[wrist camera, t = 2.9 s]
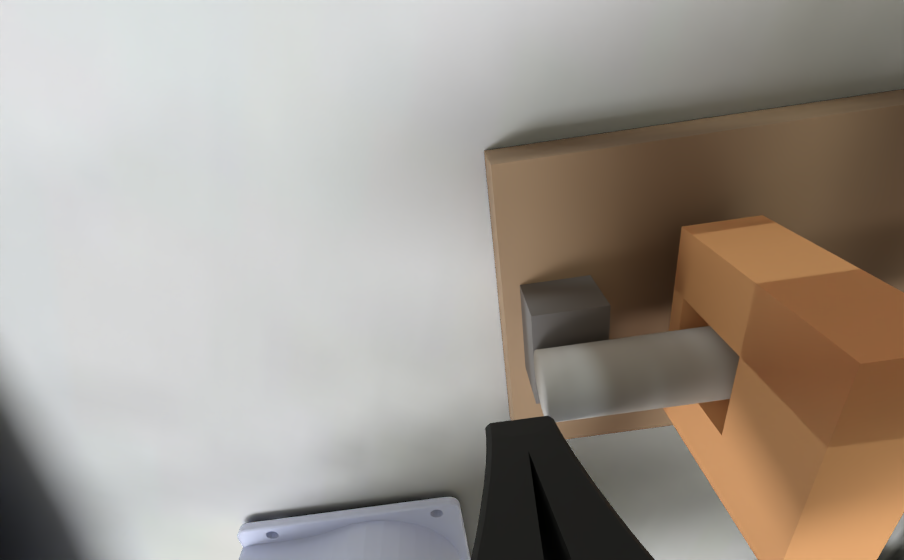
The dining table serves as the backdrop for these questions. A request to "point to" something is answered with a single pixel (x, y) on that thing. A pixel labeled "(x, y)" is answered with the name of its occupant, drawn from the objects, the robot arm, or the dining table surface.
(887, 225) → the pipe stand
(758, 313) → the collar
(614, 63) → the dining table surface
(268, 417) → the dining table surface
